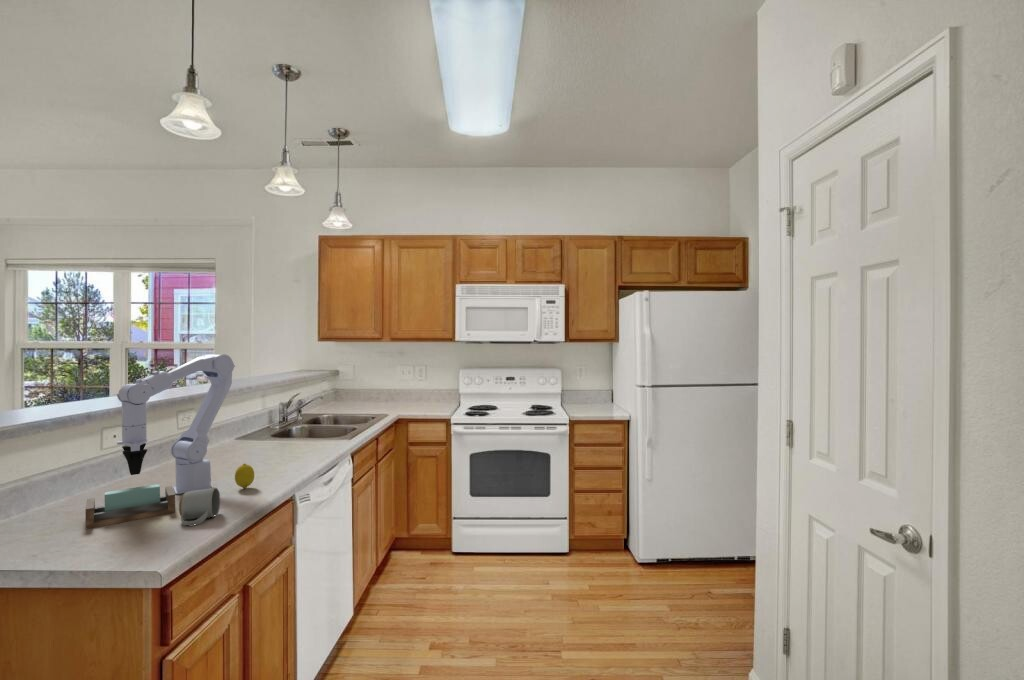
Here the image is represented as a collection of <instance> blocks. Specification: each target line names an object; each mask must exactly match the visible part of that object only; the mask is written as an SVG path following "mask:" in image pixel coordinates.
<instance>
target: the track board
mask: <svg viewBox="0 0 1024 680" xmlns="http://www.w3.org/2000/svg"><path fill="white" fill-rule="evenodd" d="M173 487H174V486H172V485H169V486H165V487H164V488H165V489H164V491H165V493H164V495H163V496H160V502H158V503H152V504H146V505H141V506H135V507H129V508H123V509H117V510H111V511H105V505H103V506H96V502H95V501H96V497H95V498H94V497H93V498H88V499H86V504H85V529H86V528H88V529H93V528H98V527H97V526H99V527H103V525H104V526H108V525H109V524H110V525H115V524H120V523H125V522H131V521H136V519H137V520H142V519H147V517H148V518H153V517H157V515H158V516H162V515H161V514H164V515H168V514H167V513H169V514H172V513H171V512H175V513H176V494H175V491H174V489H173ZM152 516H153V517H152ZM92 527H93V528H92Z"/></svg>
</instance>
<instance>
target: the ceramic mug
mask: <svg viewBox="0 0 1024 680" xmlns="http://www.w3.org/2000/svg"><path fill="white" fill-rule="evenodd" d="M220 506H221V495H220V490H219V489H218V487H211V488H209V489H202V490H195V491H189V492H186V493H182V495H181V497H180V499H179V503H178V512H179V515H180V521H181V523H182V525H183V526H185V525H194V524H197V525H200V524H202V523H203V522H204V521H205V520H206V519H209V518H210V517H212V518H216V517H215V516H214V515H217V516H218V514H219V511H220ZM195 518H197V519H195ZM186 520H190V521H186ZM199 523H200V524H199Z"/></svg>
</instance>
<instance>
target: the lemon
mask: <svg viewBox="0 0 1024 680" xmlns="http://www.w3.org/2000/svg"><path fill="white" fill-rule="evenodd" d="M254 480H255V471H254V468H253V467H252V466H251V465H249V464H247V463H243V464H242V465H240V466H238V467H237V468H236V471H235V474H234V481H235V483H236V485H237V486H238V487H240V488H242V489H244V488H245V489H247V488H248V487H249V486H250V485H252V484H253V482H254Z"/></svg>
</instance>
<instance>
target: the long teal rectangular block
mask: <svg viewBox="0 0 1024 680" xmlns="http://www.w3.org/2000/svg"><path fill="white" fill-rule="evenodd" d="M160 497H161V485H160V483H158V484H157V483H156V484H151V485H145V486H144V485H143V486H137V487H131V488H130V487H129V488H124V489H117V490H111V491H105V492H104V506H105V511H111V510H117V509H123V508H129V507H135V506H141V505H146V504H152V503H158V502H160Z"/></svg>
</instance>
